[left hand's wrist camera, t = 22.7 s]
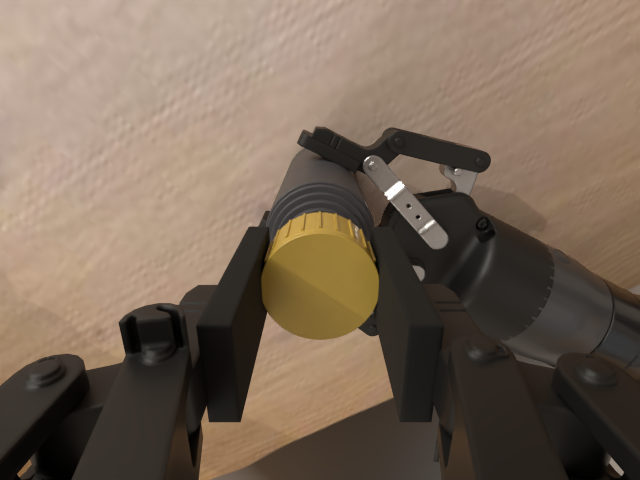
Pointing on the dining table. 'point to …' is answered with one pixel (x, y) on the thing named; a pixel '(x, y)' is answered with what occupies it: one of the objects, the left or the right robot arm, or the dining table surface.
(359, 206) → the bottle
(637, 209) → the dining table surface
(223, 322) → the left robot arm
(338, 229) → the cap
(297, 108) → the dining table surface
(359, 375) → the dining table surface
